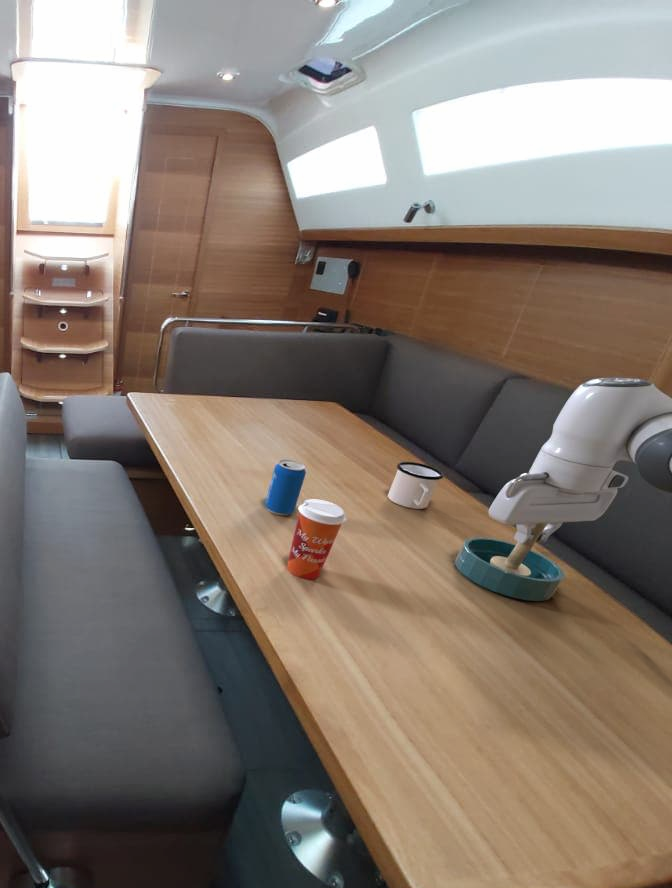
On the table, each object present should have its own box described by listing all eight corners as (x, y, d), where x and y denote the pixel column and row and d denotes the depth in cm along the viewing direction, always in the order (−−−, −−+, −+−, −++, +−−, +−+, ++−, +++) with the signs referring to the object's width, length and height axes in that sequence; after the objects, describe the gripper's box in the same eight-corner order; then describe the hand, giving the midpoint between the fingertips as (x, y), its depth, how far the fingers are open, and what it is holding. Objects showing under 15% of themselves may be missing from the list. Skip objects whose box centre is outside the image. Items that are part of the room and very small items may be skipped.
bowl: (528, 568, 100) (540, 547, 98) (567, 612, 88) (582, 589, 86) (443, 551, 105) (453, 531, 102) (469, 591, 92) (481, 569, 90)
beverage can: (260, 502, 122) (272, 457, 117) (288, 505, 121) (301, 460, 116) (268, 515, 116) (281, 468, 111) (297, 518, 115) (311, 471, 110)
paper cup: (280, 575, 95) (300, 511, 89) (281, 555, 101) (300, 494, 95) (326, 587, 92) (350, 522, 86) (324, 566, 98) (346, 503, 92)
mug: (380, 490, 131) (392, 459, 127) (421, 496, 128) (435, 464, 124) (394, 511, 120) (408, 477, 116) (439, 518, 118) (455, 484, 114)
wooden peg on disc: (514, 573, 97) (554, 512, 90) (528, 592, 92) (572, 529, 85) (478, 565, 98) (515, 505, 91) (490, 583, 94) (531, 521, 87)
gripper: (536, 482, 80) (498, 553, 86) (637, 478, 83) (593, 547, 89) (497, 466, 86) (464, 534, 92) (594, 463, 89) (555, 529, 95)
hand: (529, 540), depth 90 cm, fingers closed on wooden peg on disc
